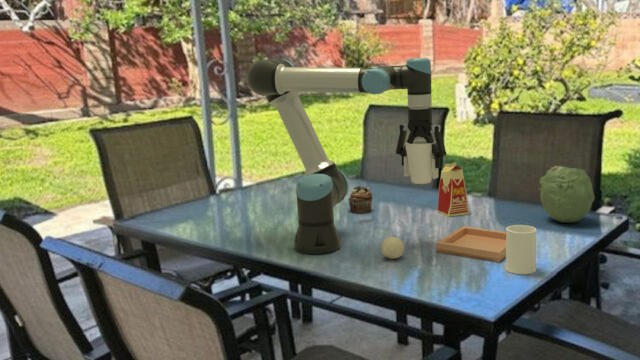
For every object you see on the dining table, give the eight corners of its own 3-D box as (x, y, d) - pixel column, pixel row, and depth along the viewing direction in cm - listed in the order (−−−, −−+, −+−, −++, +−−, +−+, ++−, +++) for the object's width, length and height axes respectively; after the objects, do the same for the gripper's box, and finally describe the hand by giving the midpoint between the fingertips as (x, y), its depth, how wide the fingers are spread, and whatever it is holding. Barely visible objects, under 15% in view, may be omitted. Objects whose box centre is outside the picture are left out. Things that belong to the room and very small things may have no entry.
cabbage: (584, 231, 209) (587, 172, 204) (529, 222, 221) (531, 167, 217) (601, 220, 220) (603, 164, 216) (548, 212, 233) (549, 159, 228)
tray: (498, 262, 184) (498, 252, 184) (436, 251, 196) (436, 242, 195) (521, 243, 200) (522, 234, 199) (463, 234, 212) (463, 226, 211)
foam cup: (434, 178, 208) (434, 139, 205) (437, 184, 199) (436, 143, 196) (405, 179, 209) (404, 140, 206) (406, 185, 200) (405, 144, 197)
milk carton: (469, 213, 237) (469, 161, 232) (448, 217, 233) (448, 164, 229) (456, 208, 245) (455, 158, 241) (435, 211, 242) (435, 160, 237)
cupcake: (375, 208, 252) (374, 183, 250) (370, 214, 243) (369, 189, 241) (351, 207, 254) (350, 183, 252) (346, 213, 245) (345, 188, 243)
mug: (520, 259, 186) (521, 220, 184) (547, 265, 180) (548, 225, 178) (499, 270, 178) (499, 229, 176) (526, 277, 172) (527, 235, 170)
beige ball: (376, 259, 192) (375, 238, 191) (391, 252, 197) (390, 232, 196) (393, 263, 188) (393, 242, 186) (408, 257, 193) (408, 236, 191)
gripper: (457, 106, 195) (457, 177, 200) (395, 105, 208) (396, 172, 213) (446, 109, 189) (447, 182, 194) (383, 108, 202) (385, 176, 207)
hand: (421, 176), depth 203 cm, fingers closed on foam cup, 9 cm apart
